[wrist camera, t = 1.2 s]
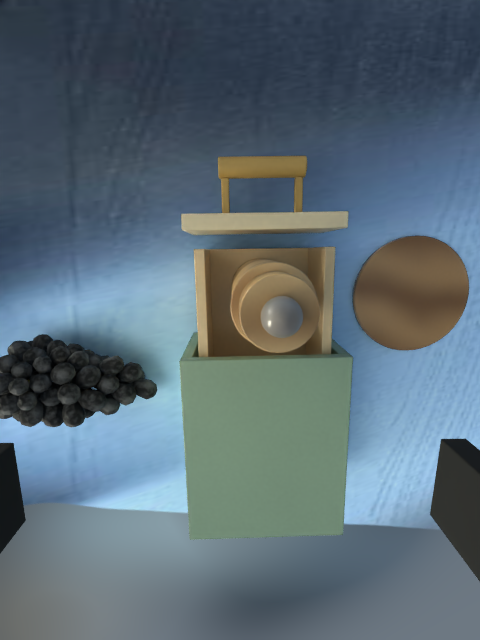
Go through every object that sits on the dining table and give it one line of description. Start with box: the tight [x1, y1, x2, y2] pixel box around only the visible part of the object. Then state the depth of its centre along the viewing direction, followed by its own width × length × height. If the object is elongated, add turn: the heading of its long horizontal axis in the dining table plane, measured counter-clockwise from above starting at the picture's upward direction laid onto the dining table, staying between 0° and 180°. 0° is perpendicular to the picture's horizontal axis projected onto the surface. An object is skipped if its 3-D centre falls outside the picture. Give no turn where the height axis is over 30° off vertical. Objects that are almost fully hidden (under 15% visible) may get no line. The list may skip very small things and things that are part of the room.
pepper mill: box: [231, 258, 320, 353], centre depth 24 cm, size 5×5×16 cm
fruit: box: [0, 334, 157, 427], centre depth 32 cm, size 9×8×15 cm
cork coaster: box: [353, 236, 469, 350], centre depth 34 cm, size 12×12×1 cm
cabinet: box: [179, 333, 353, 539], centre depth 32 cm, size 17×14×9 cm
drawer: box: [181, 156, 348, 357], centre depth 29 cm, size 20×13×7 cm, turn 1°
